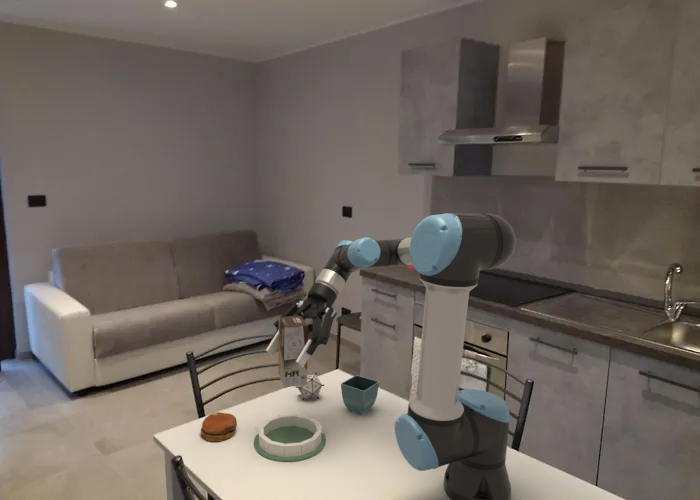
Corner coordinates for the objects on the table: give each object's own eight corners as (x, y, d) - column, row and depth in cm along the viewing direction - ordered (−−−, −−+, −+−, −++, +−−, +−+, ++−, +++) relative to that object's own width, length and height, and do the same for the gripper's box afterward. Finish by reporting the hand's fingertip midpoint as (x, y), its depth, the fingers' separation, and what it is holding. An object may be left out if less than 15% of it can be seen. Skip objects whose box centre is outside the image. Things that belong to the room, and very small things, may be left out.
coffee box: (308, 385, 128) (309, 325, 126) (283, 387, 127) (283, 327, 124) (300, 371, 137) (301, 315, 135) (277, 373, 135) (277, 316, 133)
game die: (313, 411, 160) (318, 395, 153) (289, 399, 161) (293, 383, 154) (324, 388, 166) (330, 373, 159) (301, 377, 167) (306, 361, 160)
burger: (216, 446, 131) (216, 429, 130) (194, 434, 136) (193, 418, 136) (244, 431, 139) (244, 416, 138) (222, 421, 144) (222, 406, 144)
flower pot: (339, 411, 152) (339, 383, 151) (355, 401, 160) (356, 374, 158) (363, 420, 147) (364, 391, 146) (378, 409, 155) (380, 381, 153)
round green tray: (339, 444, 133) (340, 432, 133) (279, 471, 121) (280, 457, 120) (298, 417, 147) (298, 406, 147) (240, 438, 135) (240, 426, 134)
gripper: (364, 304, 133) (323, 377, 124) (302, 290, 148) (262, 354, 138) (352, 288, 129) (309, 363, 119) (290, 274, 143) (246, 340, 133)
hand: (284, 358), depth 128 cm, fingers closed on coffee box, 10 cm apart
